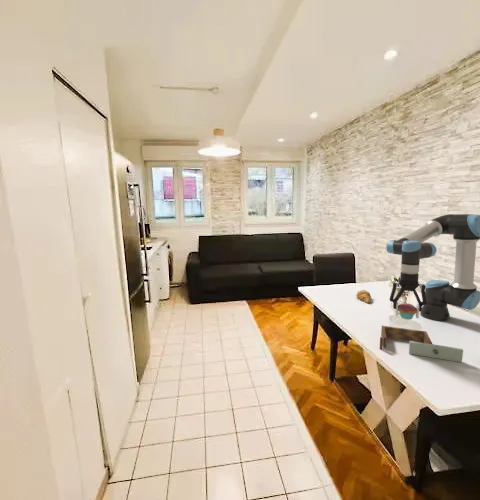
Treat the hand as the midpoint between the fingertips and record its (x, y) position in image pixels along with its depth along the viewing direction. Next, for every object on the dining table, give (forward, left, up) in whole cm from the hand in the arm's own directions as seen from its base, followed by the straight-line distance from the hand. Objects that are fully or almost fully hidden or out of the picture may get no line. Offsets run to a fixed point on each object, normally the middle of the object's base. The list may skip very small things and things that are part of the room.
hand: (406, 316), depth 134 cm
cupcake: (0, 0, -1) cm, 1 cm away
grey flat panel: (-11, +9, -16) cm, 21 cm away
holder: (+1, +1, -16) cm, 16 cm away
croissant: (+19, -67, -16) cm, 72 cm away
